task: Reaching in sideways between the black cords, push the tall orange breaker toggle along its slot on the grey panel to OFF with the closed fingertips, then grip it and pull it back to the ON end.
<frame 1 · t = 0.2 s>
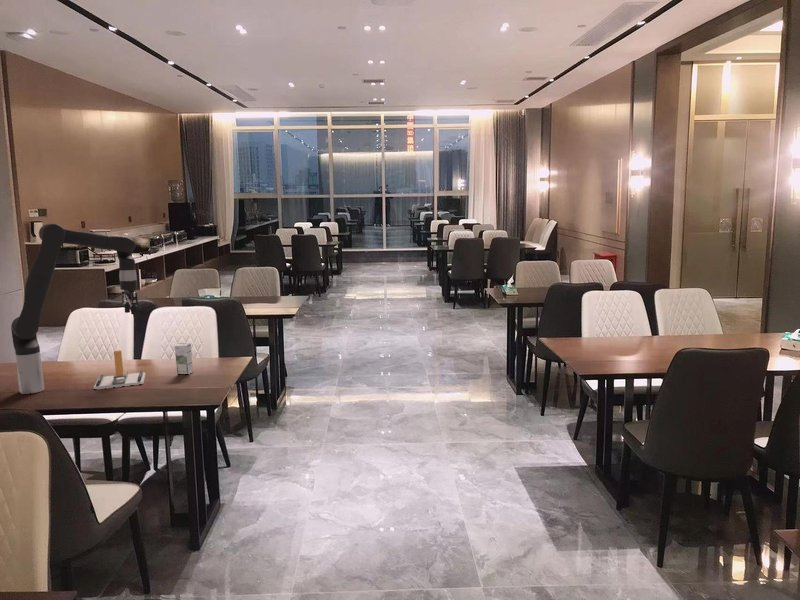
hand: (130, 313, 303), 29 cm above the table, tool pointing down, fingers open, 8 cm apart
syrup box: (185, 374, 300), on the table
breaker toggle: (118, 363, 288), point 9 cm above the table, slide at 0.0 cm
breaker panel: (120, 381, 289), on the table
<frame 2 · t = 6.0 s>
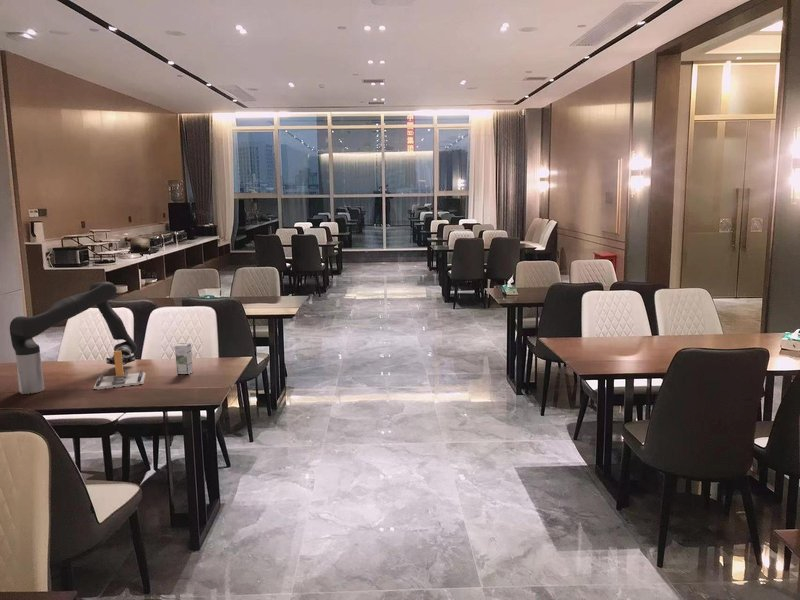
hand: (118, 363, 289), 8 cm above the table, tool horizontal, fingers closed
breaker toggle: (118, 364, 288), point 9 cm above the table, slide at -0.5 cm, touching gripper
everything else where it was.
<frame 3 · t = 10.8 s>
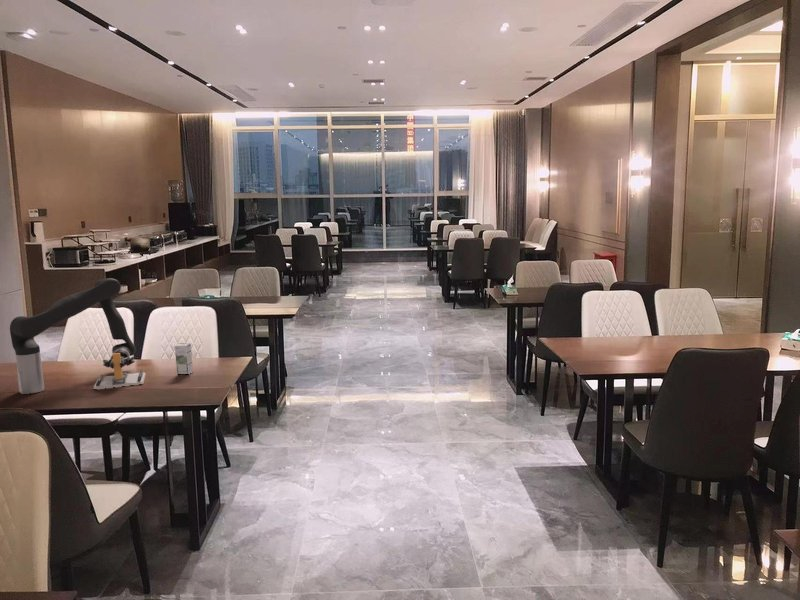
hand: (116, 365, 280), 9 cm above the table, tool horizontal, fingers closed on breaker toggle, 3 cm apart
breaker toggle: (117, 366, 283), point 9 cm above the table, slide at -5.6 cm, touching gripper
everything else where it was.
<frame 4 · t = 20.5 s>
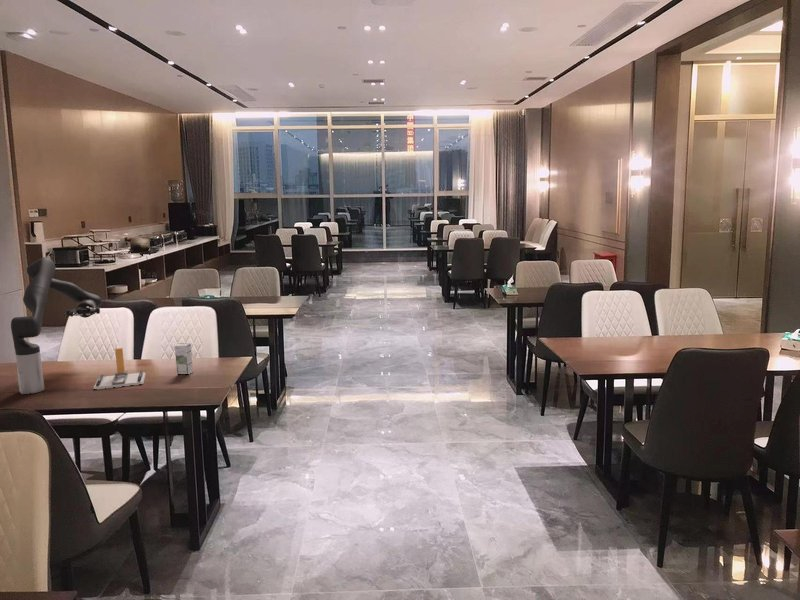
hand: (81, 313, 298), 30 cm above the table, tool horizontal, fingers open, 8 cm apart
breaker toggle: (120, 361, 293), point 9 cm above the table, slide at 5.5 cm
everything else where it was.
at the end: breaker toggle slide at 5.5 cm; the gripper is holding nothing; syrup box moved 0.2 cm from its start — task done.
